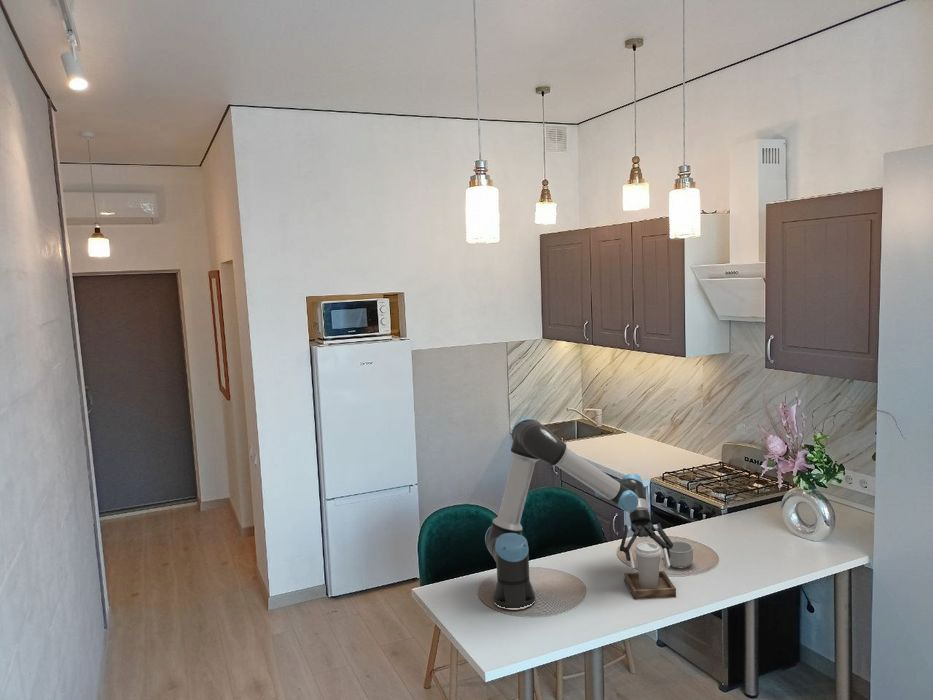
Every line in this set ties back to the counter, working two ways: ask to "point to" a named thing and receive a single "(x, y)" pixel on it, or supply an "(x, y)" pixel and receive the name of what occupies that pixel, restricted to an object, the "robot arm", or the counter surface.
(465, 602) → the counter surface
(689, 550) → the teacup
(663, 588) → the walnut tray
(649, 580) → the coffee cup
